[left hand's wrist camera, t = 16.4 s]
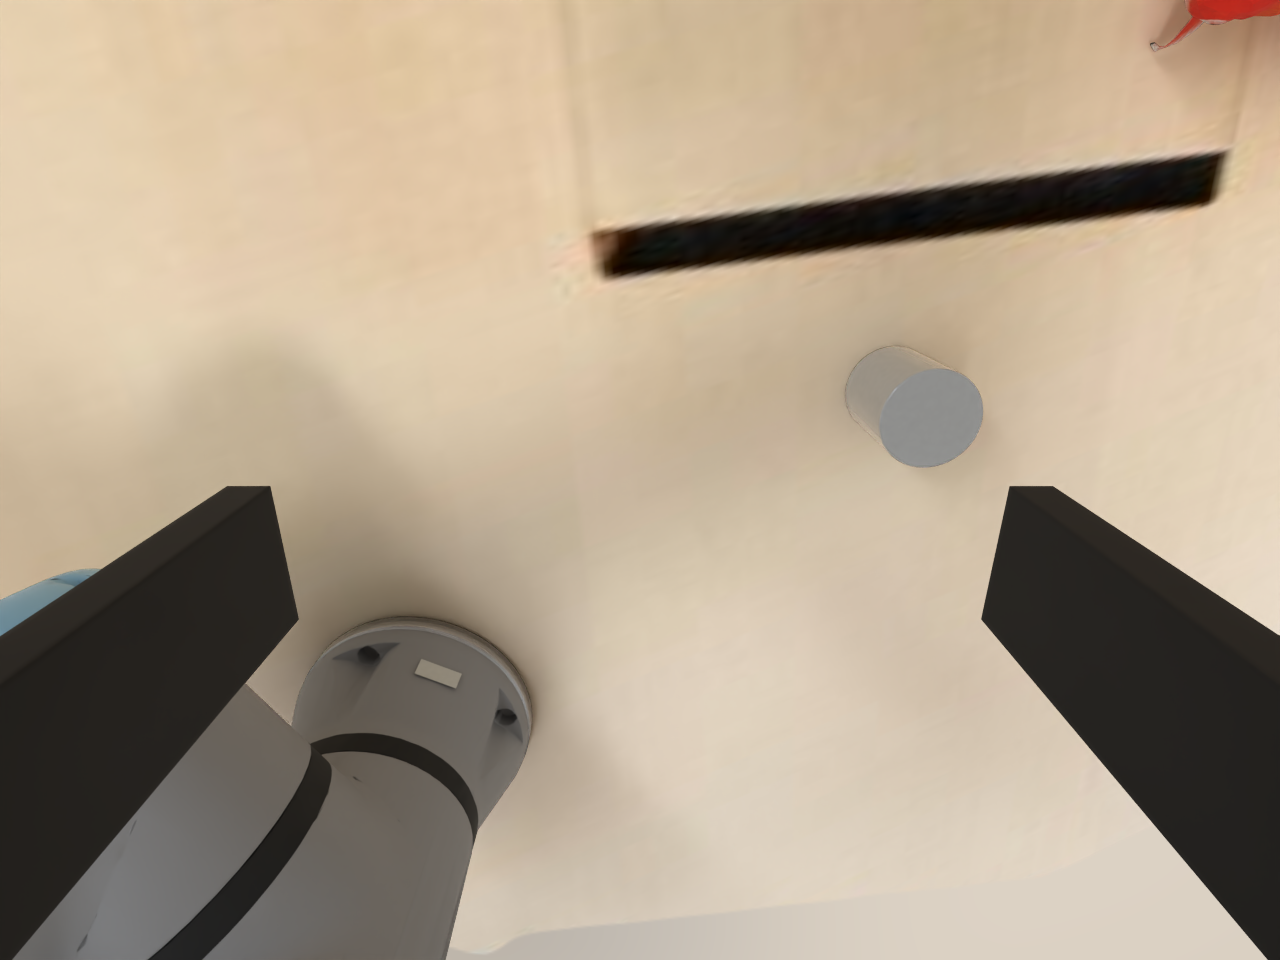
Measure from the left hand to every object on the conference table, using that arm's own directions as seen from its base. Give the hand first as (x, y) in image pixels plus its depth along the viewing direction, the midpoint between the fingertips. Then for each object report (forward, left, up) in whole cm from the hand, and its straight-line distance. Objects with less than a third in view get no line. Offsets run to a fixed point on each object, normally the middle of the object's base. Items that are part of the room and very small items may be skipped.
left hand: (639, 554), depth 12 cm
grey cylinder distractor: (+4, -14, -27) cm, 30 cm away
